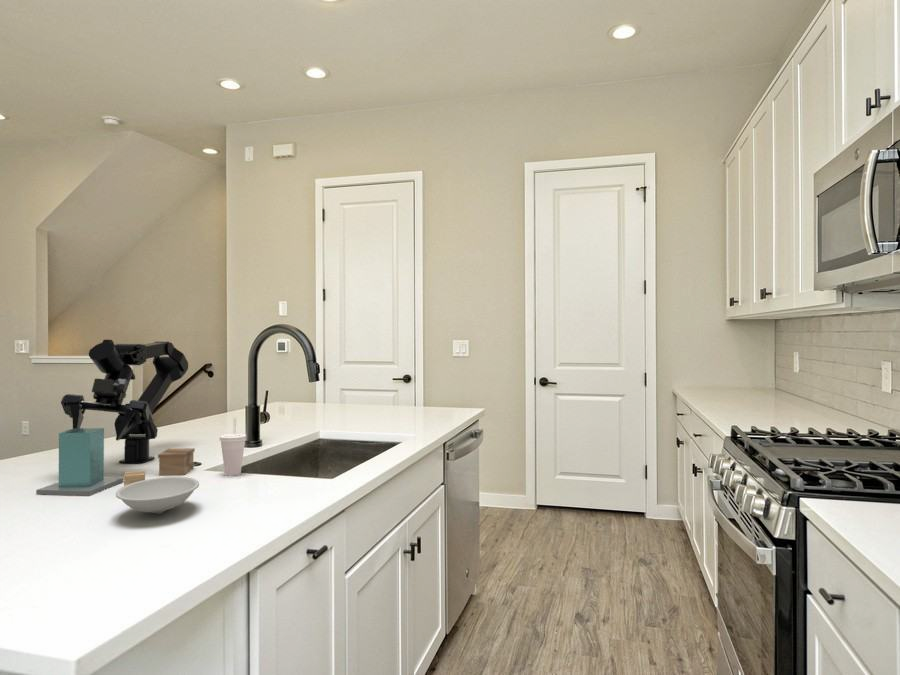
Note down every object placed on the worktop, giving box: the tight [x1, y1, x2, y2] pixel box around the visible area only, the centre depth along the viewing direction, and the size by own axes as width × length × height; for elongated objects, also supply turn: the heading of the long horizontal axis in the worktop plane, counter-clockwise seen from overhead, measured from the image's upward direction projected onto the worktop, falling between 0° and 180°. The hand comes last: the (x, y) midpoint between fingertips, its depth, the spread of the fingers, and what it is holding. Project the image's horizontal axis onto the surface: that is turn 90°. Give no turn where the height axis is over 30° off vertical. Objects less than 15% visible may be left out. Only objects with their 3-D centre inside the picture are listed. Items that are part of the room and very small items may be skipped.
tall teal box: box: [58, 427, 105, 488], centre depth 134 cm, size 6×6×12 cm
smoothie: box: [219, 417, 247, 476], centre depth 148 cm, size 6×6×14 cm
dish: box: [115, 476, 200, 515], centre depth 116 cm, size 18×14×5 cm
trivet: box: [35, 476, 124, 497], centre depth 134 cm, size 12×12×1 cm
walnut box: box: [157, 447, 195, 476], centre depth 150 cm, size 7×6×5 cm
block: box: [123, 470, 146, 487], centre depth 132 cm, size 4×4×4 cm
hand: (95, 438), depth 141 cm, fingers open, 9 cm apart
